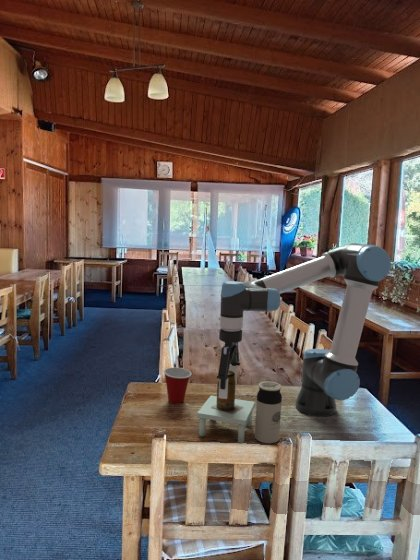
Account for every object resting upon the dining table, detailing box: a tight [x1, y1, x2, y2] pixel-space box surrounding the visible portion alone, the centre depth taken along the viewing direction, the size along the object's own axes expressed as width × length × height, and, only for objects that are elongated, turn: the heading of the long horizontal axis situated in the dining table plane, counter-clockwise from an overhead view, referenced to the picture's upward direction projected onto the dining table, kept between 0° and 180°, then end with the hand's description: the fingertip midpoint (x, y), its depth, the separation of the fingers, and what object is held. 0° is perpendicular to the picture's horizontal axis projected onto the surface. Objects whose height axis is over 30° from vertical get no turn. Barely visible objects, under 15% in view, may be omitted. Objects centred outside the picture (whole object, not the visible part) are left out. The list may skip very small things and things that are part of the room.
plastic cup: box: [163, 366, 192, 405], centre depth 173 cm, size 11×11×12 cm
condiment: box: [212, 371, 243, 414], centre depth 149 cm, size 7×8×12 cm
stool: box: [196, 395, 256, 444], centre depth 150 cm, size 16×16×8 cm
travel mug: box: [254, 381, 283, 444], centre depth 145 cm, size 8×8×18 cm
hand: (228, 390), depth 149 cm, fingers open, 13 cm apart
